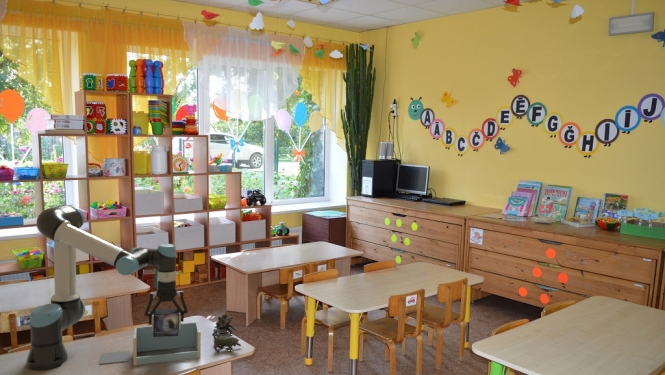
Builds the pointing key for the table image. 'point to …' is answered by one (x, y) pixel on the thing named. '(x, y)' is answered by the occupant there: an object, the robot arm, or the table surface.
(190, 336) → the crate
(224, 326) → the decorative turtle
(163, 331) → the small box
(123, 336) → the table surface
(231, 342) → the dog figurine
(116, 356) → the mat
